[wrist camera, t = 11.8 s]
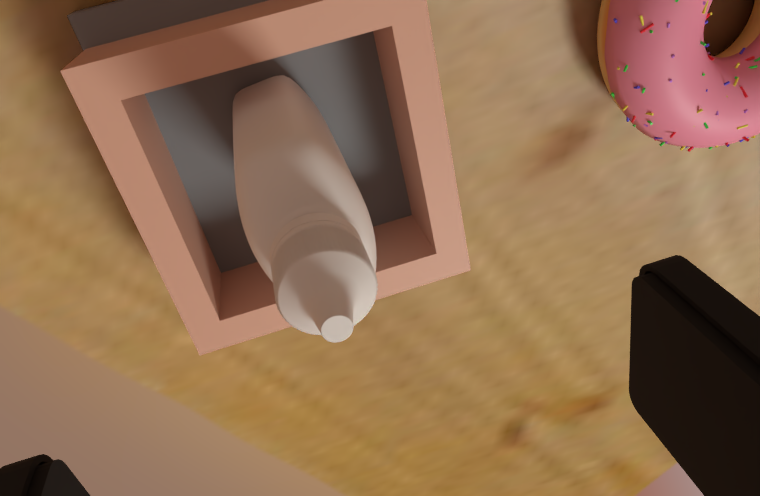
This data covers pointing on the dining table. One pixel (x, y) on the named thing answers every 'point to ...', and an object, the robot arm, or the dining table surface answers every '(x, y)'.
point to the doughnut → (679, 72)
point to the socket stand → (215, 137)
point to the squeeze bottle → (302, 210)
